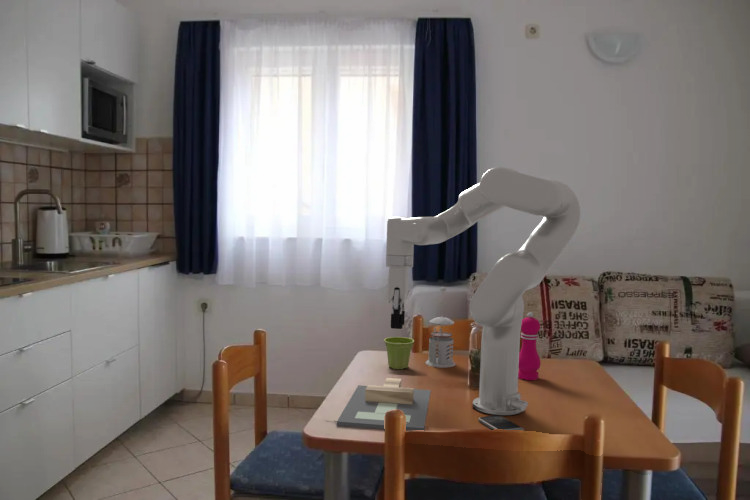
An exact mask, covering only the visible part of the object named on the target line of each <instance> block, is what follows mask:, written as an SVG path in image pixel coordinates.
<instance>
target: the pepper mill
mask: <svg viewBox="0 0 750 500" xmlns="http://www.w3.org/2000/svg"><path fill="white" fill-rule="evenodd" d="M540 330H541V324H540V321H539V320H538V319H537V318H535V317H534V313H533V312H531V311H530V312H528V313H527V317H526V316H525V317H524V318H523V319H522V324H521V332H520V339H521V340H522V342H521V343H522V344H521V348H520V350H519V367H518V379H520V380H523V379H525V380H524V381H537V380H538V379H539V372H538V370H539V369H540V368H541V359H540V356H539V352H538V350H537V340H538V339H539V334H538V332H539V331H540ZM536 379H537V380H536Z"/></svg>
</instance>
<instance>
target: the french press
mask: <svg viewBox="0 0 750 500" xmlns="http://www.w3.org/2000/svg"><path fill="white" fill-rule="evenodd" d="M439 290H440V292H447V288H445V286H442V287H441V288H440V289H439ZM441 304H442V306H441V316H438V317H434V318H432V319H430V320H429V323H430V324H431V325H435V326H441V328H439V331H437V327H435V328H434V329H433V332H430V337H429V339H428V340H429V341H428V342H429V343H428V346H429V347H428V359H427V360H426V361H425V364H426V366H430V367H433V368H451V367H455V366H456V363H455V362H454V361H453V357H454V355H453V354H454V338H453V337H452V336H453V334H452V333H451V332H446V331H443V326H451V325H454V324H455V321H453V319H450V318H449V317H444V315H443V313H444V299H442V302H441Z"/></svg>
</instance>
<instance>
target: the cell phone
mask: <svg viewBox="0 0 750 500" xmlns="http://www.w3.org/2000/svg"><path fill="white" fill-rule="evenodd" d="M478 422H479V423H480V424H482V425H484V426H485V427H486V428H489V429H490V430H492V429H503V430H504V429H505V430H524V431H525V428H523V427H521V426H519V424H516V423H514V422H513V421H511V420H509V419H507V418H505V417H504V416H503V415H494V414H493V415H487V416H480V417H479V418H478Z"/></svg>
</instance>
